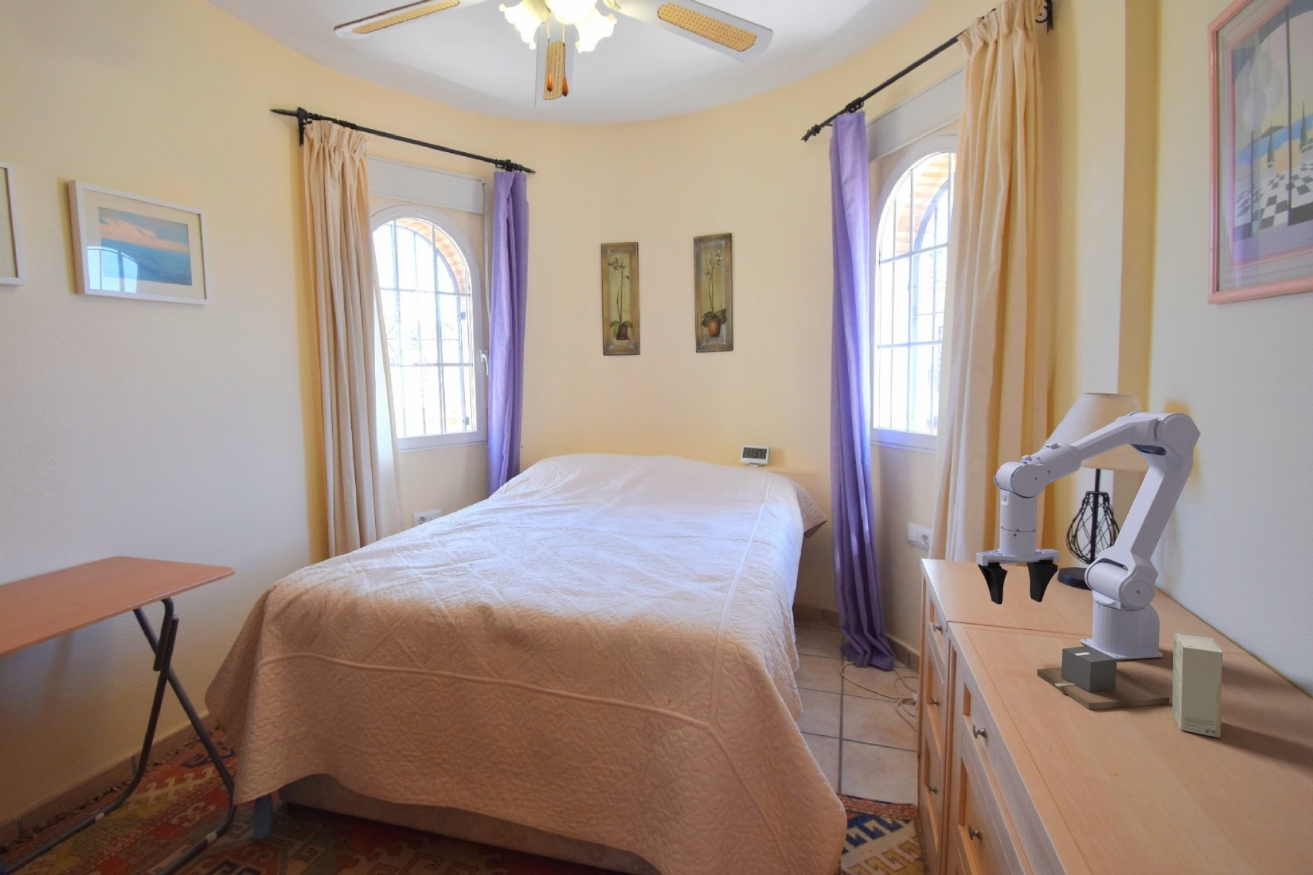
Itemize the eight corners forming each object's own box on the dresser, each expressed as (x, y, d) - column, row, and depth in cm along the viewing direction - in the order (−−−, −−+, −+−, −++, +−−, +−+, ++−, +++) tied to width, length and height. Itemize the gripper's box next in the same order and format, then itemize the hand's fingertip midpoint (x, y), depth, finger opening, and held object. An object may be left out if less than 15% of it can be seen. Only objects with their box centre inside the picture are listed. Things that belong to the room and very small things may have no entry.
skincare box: (1221, 739, 82) (1225, 653, 81) (1178, 730, 84) (1182, 646, 83) (1209, 717, 87) (1213, 636, 86) (1169, 709, 89) (1173, 630, 88)
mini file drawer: (1086, 673, 99) (1087, 645, 98) (1115, 688, 94) (1117, 658, 93) (1061, 676, 98) (1062, 647, 97) (1089, 691, 93) (1090, 661, 92)
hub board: (1109, 670, 102) (1110, 650, 101) (1169, 703, 91) (1170, 681, 90) (1032, 675, 101) (1032, 655, 100) (1083, 709, 90) (1084, 687, 89)
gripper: (1040, 521, 113) (1038, 592, 114) (966, 525, 112) (965, 595, 113) (1068, 530, 106) (1066, 605, 107) (990, 534, 105) (989, 609, 106)
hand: (1016, 601), depth 109 cm, fingers open, 7 cm apart
